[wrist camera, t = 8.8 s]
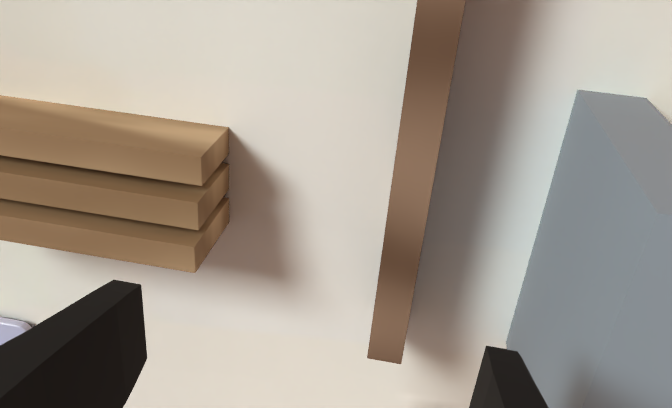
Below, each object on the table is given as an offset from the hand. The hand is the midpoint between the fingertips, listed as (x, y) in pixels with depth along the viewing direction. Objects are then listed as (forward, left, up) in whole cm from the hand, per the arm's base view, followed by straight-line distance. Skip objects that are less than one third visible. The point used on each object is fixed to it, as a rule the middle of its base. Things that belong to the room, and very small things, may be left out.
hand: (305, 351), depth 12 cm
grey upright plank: (-1, -7, -9) cm, 12 cm away
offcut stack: (-1, +10, -10) cm, 14 cm away
